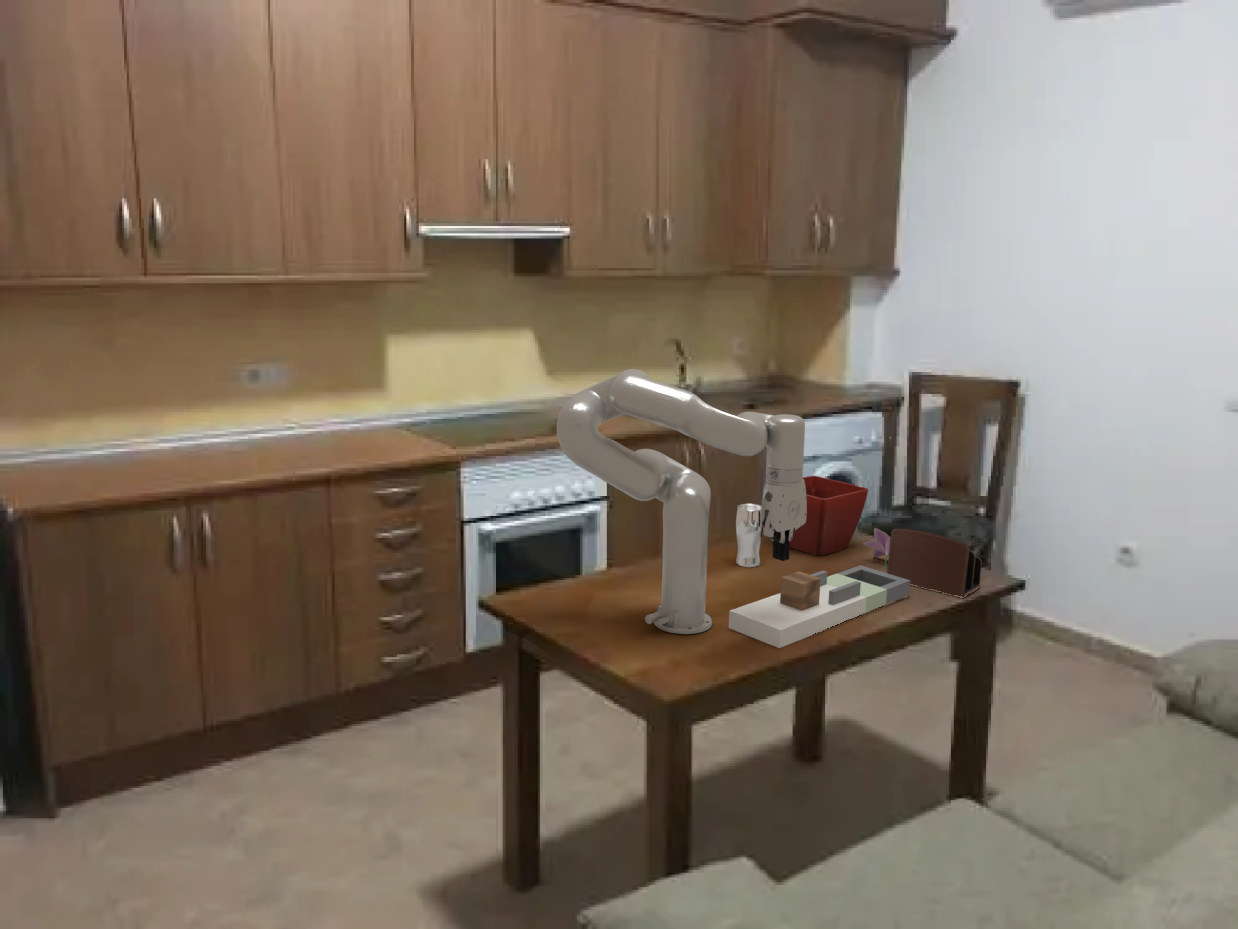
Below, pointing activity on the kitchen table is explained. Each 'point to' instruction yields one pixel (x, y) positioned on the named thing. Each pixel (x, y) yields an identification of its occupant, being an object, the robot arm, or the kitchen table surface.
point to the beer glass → (748, 534)
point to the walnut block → (800, 590)
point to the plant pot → (829, 515)
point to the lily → (880, 544)
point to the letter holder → (933, 562)
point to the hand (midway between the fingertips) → (780, 558)
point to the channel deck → (819, 606)
